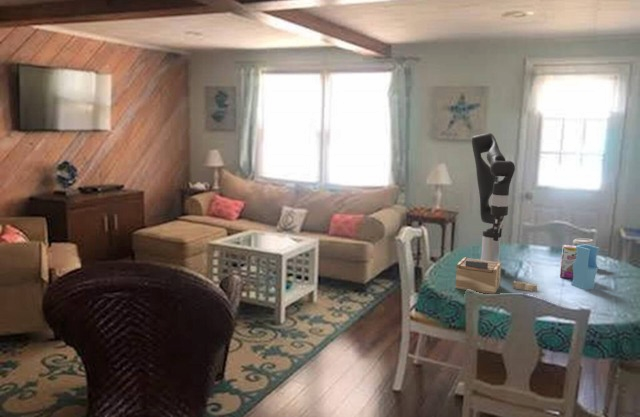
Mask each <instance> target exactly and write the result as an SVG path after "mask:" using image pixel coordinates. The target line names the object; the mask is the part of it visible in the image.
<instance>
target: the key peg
mask: <svg viewBox="0 0 640 417" xmlns="http://www.w3.org/2000/svg"><path fill="white" fill-rule="evenodd" d="M512 289H516V290H524V291H530V292H537V290H538V284H537V283H532V282H525V281H524V282H523V281H518V280H517V281H516V280H513V284H512Z"/></svg>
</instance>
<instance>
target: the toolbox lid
mask: <svg viewBox="0 0 640 417" xmlns="http://www.w3.org/2000/svg"><path fill="white" fill-rule="evenodd" d="M497 264H498V262H493V261H485V260H481V259H477V258H476V259H475V258H470V257H469V258H468V257H467V259H466V260H465V261H464V262H463V263H462V264H461V265H460V268H464V269H471V270H478V271H485V272H493V269H494V268H495V266H496V265H497Z"/></svg>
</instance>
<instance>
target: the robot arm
mask: <svg viewBox="0 0 640 417" xmlns="http://www.w3.org/2000/svg"><path fill="white" fill-rule="evenodd" d="M471 146H472V151H473V156H474V161H475V168H476V170H475V171H476V179H477V187H478V191H479V192H478V193H479V194H478V195H479V208H480V211H479V212H480V213H479V214H480V220H481V222H483V223H485V224H491V225H492V227H490V228H487V229H483V230H482V241H481V242H482V243H481V258H480V260H485V261H493V262H498V263H499V262H500V249H501V238H502V230H503V228H504V221H505V216H508V215H509V203H510V200H509V199H510V198H509V195H510V186H511V182H512V179H513V177H514V173H515V171H516V166H515V164H514V162H513V161H511V160H506V158H505V156H504V155H503V154H502V152H501V150H500V148H499V145H498V142H497V139H496V138H495V136H494V134H493V133H491V132H485V133H482V134H478V135H474V136H472V138H471ZM483 153H486V160H487V162H488V163H489V165H488V164H487V162H486V161H485V160H484V159H483V157H482V154H483ZM497 177H503V178H502V180H499V181H498V180H497ZM491 196H492V197H491ZM490 197H491V198H490ZM490 199H491V204H490V203H489V200H490Z"/></svg>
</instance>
